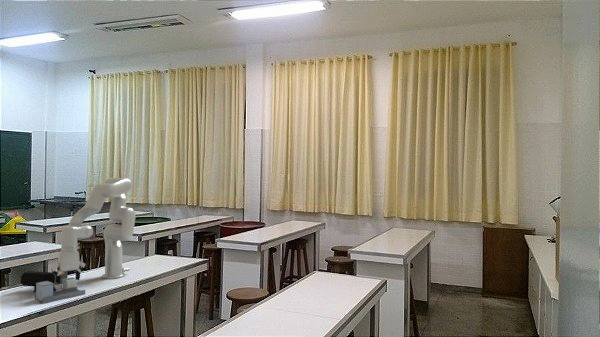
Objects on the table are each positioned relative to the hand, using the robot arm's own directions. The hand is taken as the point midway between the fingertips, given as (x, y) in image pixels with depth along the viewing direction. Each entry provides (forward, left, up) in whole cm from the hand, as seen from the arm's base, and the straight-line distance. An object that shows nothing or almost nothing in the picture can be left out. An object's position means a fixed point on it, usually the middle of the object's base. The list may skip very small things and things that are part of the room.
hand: (68, 281), depth 224 cm
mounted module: (+15, +9, -5) cm, 18 cm away
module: (-1, 0, -5) cm, 5 cm away
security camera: (+10, -10, -5) cm, 15 cm away
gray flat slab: (+7, +9, -5) cm, 12 cm away
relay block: (-4, -19, -5) cm, 20 cm away
